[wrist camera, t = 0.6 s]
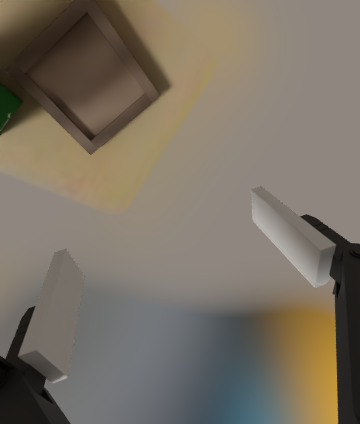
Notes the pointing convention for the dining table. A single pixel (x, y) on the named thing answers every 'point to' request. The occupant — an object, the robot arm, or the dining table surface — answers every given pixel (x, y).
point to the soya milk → (7, 105)
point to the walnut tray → (84, 75)
